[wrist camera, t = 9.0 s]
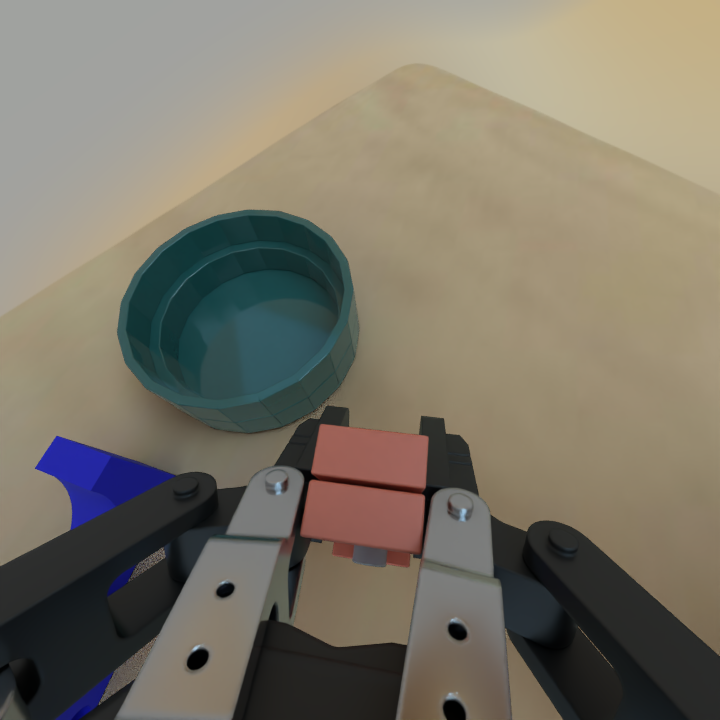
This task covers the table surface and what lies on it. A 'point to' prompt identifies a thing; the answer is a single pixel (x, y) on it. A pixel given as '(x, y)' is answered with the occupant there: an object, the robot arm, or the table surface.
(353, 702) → the robot arm
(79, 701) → the cable clip
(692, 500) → the table surface
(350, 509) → the clothespin
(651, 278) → the table surface
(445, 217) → the table surface
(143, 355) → the bowl
